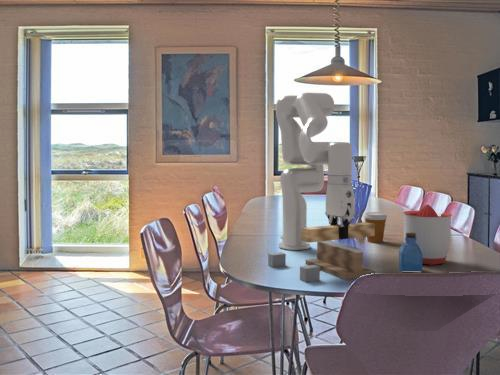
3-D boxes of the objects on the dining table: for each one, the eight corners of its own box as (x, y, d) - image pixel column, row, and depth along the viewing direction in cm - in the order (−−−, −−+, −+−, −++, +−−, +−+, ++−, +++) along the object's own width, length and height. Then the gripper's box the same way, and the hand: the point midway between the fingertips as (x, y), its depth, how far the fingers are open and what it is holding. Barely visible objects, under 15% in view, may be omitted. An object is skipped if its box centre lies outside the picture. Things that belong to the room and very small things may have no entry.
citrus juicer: (460, 260, 162) (461, 203, 161) (438, 269, 150) (440, 208, 149) (417, 253, 174) (418, 200, 172) (394, 261, 161) (395, 204, 160)
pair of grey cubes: (268, 265, 156) (268, 253, 156) (281, 263, 159) (281, 252, 158) (305, 282, 136) (305, 268, 136) (319, 280, 138) (319, 266, 138)
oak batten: (366, 234, 157) (366, 222, 157) (374, 235, 153) (374, 223, 153) (301, 240, 145) (301, 227, 145) (308, 242, 142) (308, 229, 142)
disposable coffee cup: (389, 243, 193) (390, 214, 192) (366, 243, 193) (367, 215, 192) (382, 239, 202) (383, 212, 202) (361, 239, 202) (361, 212, 202)
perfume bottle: (422, 273, 146) (422, 235, 145) (401, 272, 147) (402, 235, 146) (418, 268, 152) (419, 232, 151) (398, 267, 153) (399, 231, 152)
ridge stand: (305, 264, 158) (305, 239, 157) (332, 260, 162) (332, 236, 162) (346, 280, 138) (346, 251, 137) (374, 275, 143) (375, 248, 142)
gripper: (366, 182, 142) (365, 241, 144) (333, 179, 157) (332, 233, 159) (346, 182, 139) (345, 243, 140) (314, 180, 154) (314, 234, 155)
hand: (338, 237), depth 149 cm, fingers closed on oak batten, 4 cm apart
